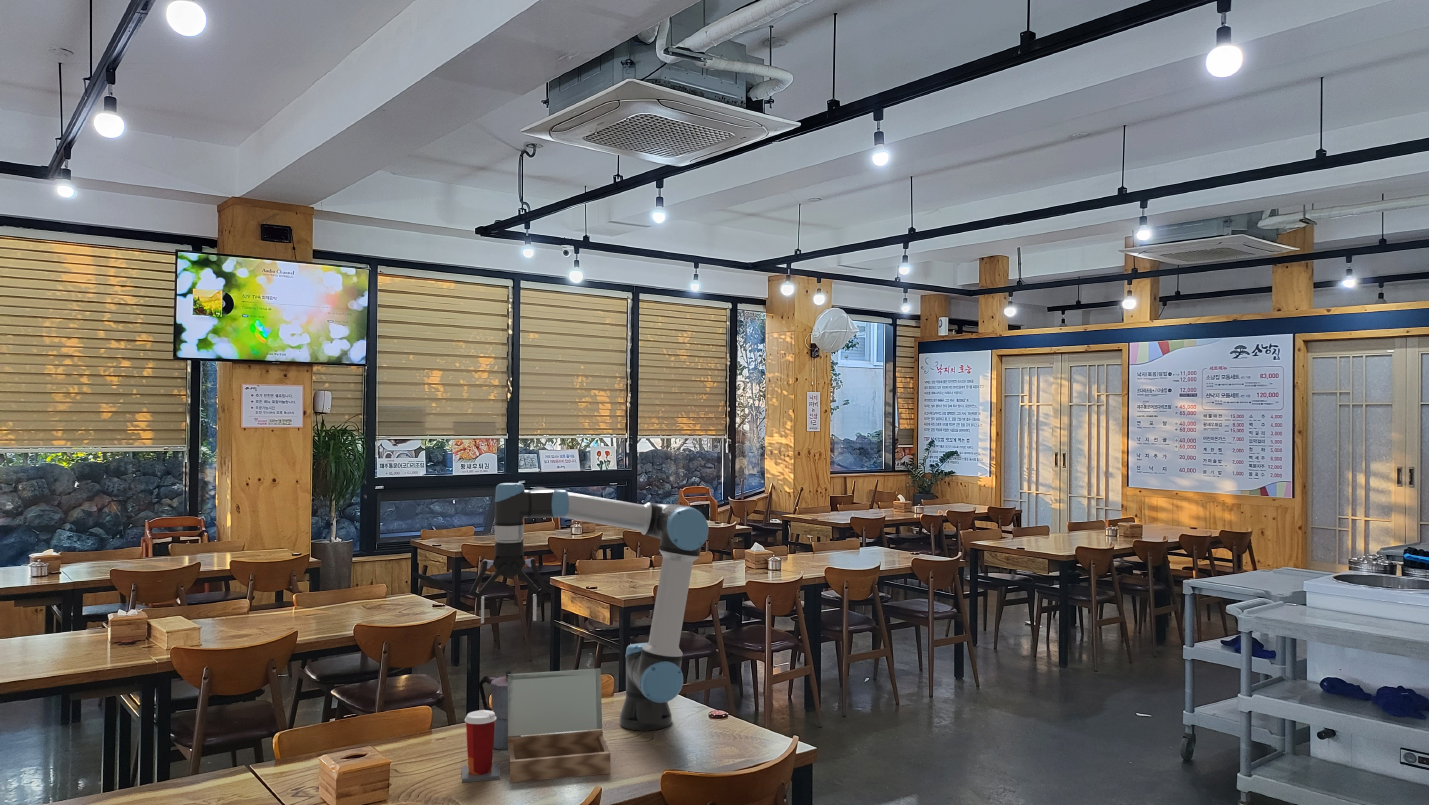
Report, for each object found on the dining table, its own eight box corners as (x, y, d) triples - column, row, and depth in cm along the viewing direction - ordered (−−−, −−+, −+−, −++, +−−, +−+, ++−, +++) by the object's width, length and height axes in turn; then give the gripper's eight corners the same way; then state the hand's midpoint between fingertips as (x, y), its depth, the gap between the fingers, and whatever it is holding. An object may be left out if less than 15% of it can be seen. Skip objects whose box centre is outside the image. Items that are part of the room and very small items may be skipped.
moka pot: (522, 752, 245) (523, 676, 246) (468, 748, 248) (469, 673, 249) (536, 741, 254) (537, 667, 255) (484, 737, 257) (485, 665, 258)
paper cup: (502, 767, 231) (502, 711, 232) (484, 778, 224) (485, 720, 225) (475, 764, 234) (475, 708, 235) (457, 774, 227) (458, 716, 227)
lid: (602, 728, 245) (601, 728, 246) (600, 668, 248) (600, 668, 249) (508, 736, 239) (507, 736, 240) (508, 674, 242) (507, 674, 243)
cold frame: (602, 752, 244) (602, 730, 245) (610, 773, 230) (610, 749, 230) (507, 761, 238) (508, 737, 239) (510, 782, 223) (510, 757, 224)
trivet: (499, 766, 235) (499, 763, 235) (499, 778, 226) (500, 775, 226) (462, 769, 232) (462, 766, 232) (461, 782, 224) (461, 779, 224)
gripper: (555, 538, 253) (554, 616, 253) (461, 540, 247) (460, 620, 246) (557, 541, 246) (557, 621, 245) (460, 544, 240) (460, 626, 239)
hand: (508, 621), depth 246 cm, fingers open, 13 cm apart
